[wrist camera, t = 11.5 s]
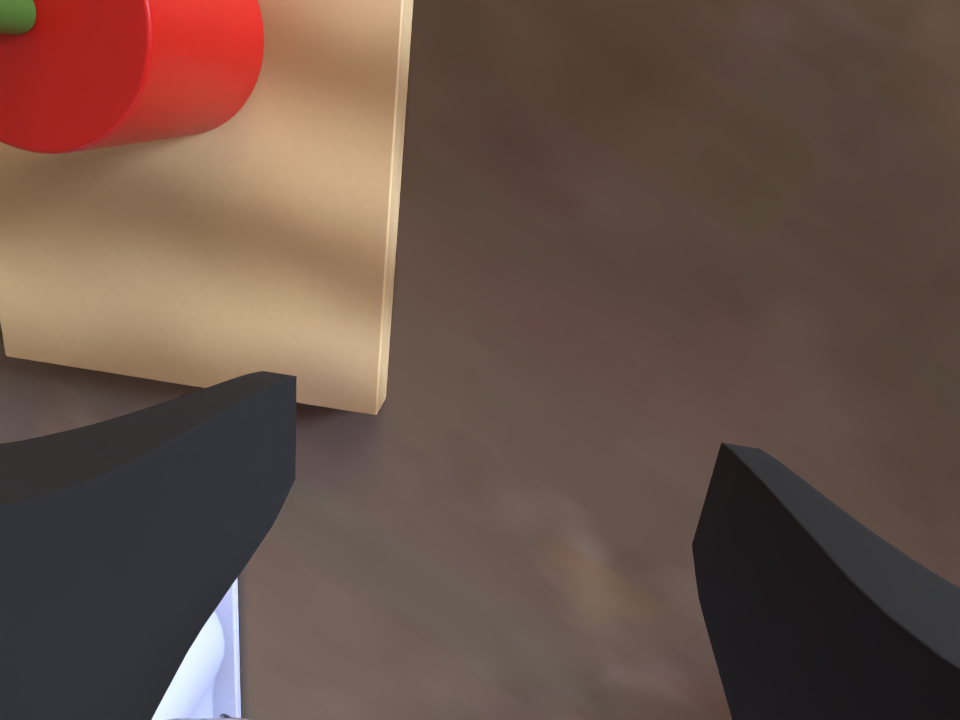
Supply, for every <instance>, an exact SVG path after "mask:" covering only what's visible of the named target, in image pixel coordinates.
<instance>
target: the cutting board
mask: <svg viewBox="0 0 960 720" xmlns="http://www.w3.org/2000/svg"><path fill="white" fill-rule="evenodd" d="M258 3H259V7H260V11H261V16H262V22H263V32H264V49H263V59H262V65H261V70H260V73H259V76H258V79H257V82H256V84H255V87H254V89H253V91H252V93H251V95H250V96H249V98H248V99H247V101H246V103H245V104H244V105H243V106H242V108H241V109H240V110H239V111H238V112H237V113H236V114H235V115H234V116H233V117H232V118H231V119H229V120H228V121H227V122H225V123H224V124H222V125H220V126H219V127H217V128H215V129H212V130H210V131H207V132H204V133H200V134H196V135H189V136H183V137H176V138H169V139H162V140H155V141H148V142H141V143H135V144H128V145H121V146H114V147H107V148H100V149H93V150H86V151H80V152H73V153H63V154H43V153H35V152H30V151H25V150H21V149H18V148H15V147H12V146H9V145H6V144H4V143H2V142H0V324H1V330H2V336H3V342H4V348H5V354H6V356H7V357H13V358H19V359H26V360H32V361H38V362H44V363H51V364H57V365H63V366H70V367H76V368H82V369H88V370H95V371H101V372H107V373H113V374H120V375H126V376H132V377H139V378H145V379H151V380H157V381H164V382H170V383H176V384H182V385H189V386H195V387H201V388H207V387H210V386H213V385H216V384H219V383H221V382H224V381H227V380H230V379H233V378H236V377H239V376H243V375H246V374H250V373H254V372H259V371H267V372H273V373H279V374H286V375H292V376H297V382H296V403H302V404H308V405H314V406H320V407H327V408H333V409H339V410H345V411H352V412H358V413H364V414H371V415H377V413H378V411H379V410H380V408H381V406H382V404H383V403H384V401H385V399H386V388H387V374H388V359H389V345H390V330H391V316H392V301H393V287H394V272H395V258H396V244H397V229H398V215H399V200H400V186H401V171H402V157H403V143H404V128H405V114H406V99H407V85H408V70H409V56H410V42H411V27H412V13H413V0H258Z"/></svg>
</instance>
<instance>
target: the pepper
mask: <svg viewBox="0 0 960 720" xmlns="http://www.w3.org/2000/svg"><path fill="white" fill-rule="evenodd" d="M263 49H264V32H263V22H262V16H261V11H260V7H259V3H258V0H0V142H2V143H4V144H6V145H9V146H12V147H15V148H18V149H21V150H25V151H30V152H35V153H43V154H63V153H73V152H80V151H86V150H93V149H100V148H107V147H114V146H121V145H128V144H135V143H141V142H148V141H155V140H162V139H169V138H176V137H183V136H189V135H196V134H200V133H204V132H207V131H210V130H212V129H215V128H217V127H219V126H220V125H222V124H224V123H225V122H227V121H228V120H229V119H231V118H232V117H233V116H234V115H235V114H236V113H237V112H238V111H239V110H240V109H241V108H242V106H243V105H244V104H245V103H246V101H247V99H248V98H249V96H250V95H251V93H252V91H253V89H254V87H255V84H256V82H257V79H258V76H259V73H260V70H261V65H262V59H263Z"/></svg>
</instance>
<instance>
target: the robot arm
mask: <svg viewBox="0 0 960 720" xmlns="http://www.w3.org/2000/svg"><path fill="white" fill-rule="evenodd" d="M296 382H297V376H292V375H286V374H279V373H273V372H267V371H259V372H254V373H250V374H246V375H243V376H239V377H236V378H233V379H230V380H227V381H224V382H221V383H219V384H216V385H213V386H210V387H207V388H204V389H202V390H199V391H196V392H193V393H190V394H187V395H185V396H182V397H179V398H176V399H173V400H171V401H168V402H165V403H162V404H158V405H155V406H152V407H149V408H146V409H143V410H139V411H136V412H133V413H130V414H127V415H123V416H120V417H117V418H114V419H111V420H107V421H104V422H100V423H97V424H93V425H89V426H85V427H81V428H77V429H73V430H69V431H65V432H60V433H56V434H51V435H47V436H42V437H38V438H33V439H28V440H23V441H17V442H11V443H5V444H0V720H249V719H244V718H241V695H240V657H239V618H238V580H237V577H238V576H239V574H240V573H241V571H242V570H243V568H244V567H245V566H246V564H247V563H248V561H249V560H250V558H251V557H252V555H253V554H254V552H255V551H256V549H257V548H258V546H259V545H260V543H261V542H262V540H263V539H264V537H265V536H266V534H267V533H268V531H269V530H270V528H271V527H272V525H273V523H274V522H275V520H276V518H277V516H278V514H279V512H280V510H281V508H282V506H283V504H284V501H285V499H286V497H287V495H288V493H289V491H290V489H291V486H292V484H293V482H294V480H295V457H296ZM692 547H693V556H694V565H695V574H696V582H697V589H698V596H699V601H700V604H701V608H702V612H703V616H704V620H705V623H706V627H707V631H708V634H709V638H710V642H711V645H712V649H713V652H714V656H715V659H716V663H717V667H718V670H719V674H720V677H721V681H722V684H723V688H724V692H725V695H726V699H727V702H728V706H729V709H730V713H731V716H732V720H960V588H959V587H957V586H955V585H954V584H952V583H950V582H949V581H947V580H945V579H944V578H942V577H940V576H938V575H937V574H935V573H933V572H932V571H930V570H928V569H927V568H925V567H924V566H922V565H921V564H919V563H918V562H916V561H914V560H913V559H911V558H910V557H908V556H907V555H905V554H904V553H902V552H901V551H899V550H898V549H897V548H895V547H894V546H892V545H891V544H889V543H888V542H886V541H885V540H883V539H882V538H881V537H879V536H878V535H876V534H875V533H873V532H872V531H870V530H869V529H868V528H866V527H865V526H864V525H862V524H861V523H859V522H858V521H857V520H855V519H854V518H853V517H851V516H850V515H849V514H847V513H846V512H845V511H843V510H842V509H841V508H839V507H838V506H837V505H835V504H834V503H833V502H831V501H830V500H829V499H827V498H826V497H825V496H824V495H822V494H821V493H820V492H818V491H817V490H816V489H815V488H813V487H812V486H811V485H809V484H808V483H807V482H806V481H804V480H803V479H802V478H800V477H799V476H798V475H796V474H795V473H794V472H793V471H791V470H790V469H789V468H787V467H786V466H785V465H783V464H782V463H780V462H779V461H778V460H776V459H775V458H773V457H772V456H770V455H769V454H767V453H766V452H764V451H762V450H760V449H757V448H751V447H745V446H738V445H732V444H725V443H721V446H720V450H719V453H718V457H717V460H716V464H715V467H714V471H713V474H712V477H711V481H710V484H709V488H708V491H707V495H706V498H705V502H704V505H703V509H702V512H701V516H700V519H699V523H698V526H697V530H696V533H695V537H694V540H693V544H692Z"/></svg>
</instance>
